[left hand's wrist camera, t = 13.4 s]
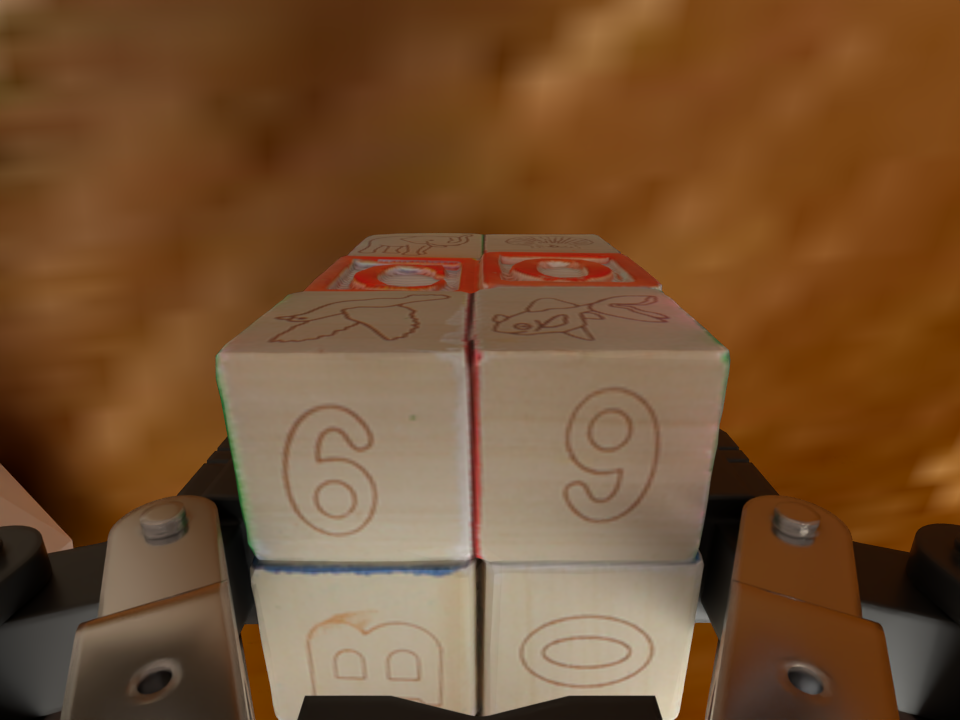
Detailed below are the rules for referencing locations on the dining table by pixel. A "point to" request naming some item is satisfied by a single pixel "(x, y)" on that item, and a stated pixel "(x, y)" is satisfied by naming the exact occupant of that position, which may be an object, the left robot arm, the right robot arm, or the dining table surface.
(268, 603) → the stack of blocks
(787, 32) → the dining table surface
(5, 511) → the sphere
